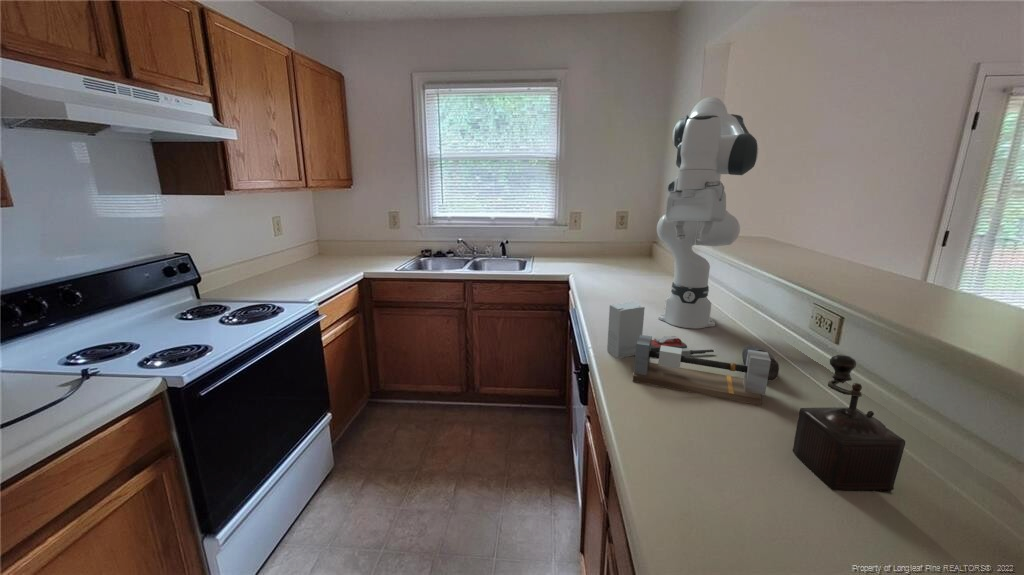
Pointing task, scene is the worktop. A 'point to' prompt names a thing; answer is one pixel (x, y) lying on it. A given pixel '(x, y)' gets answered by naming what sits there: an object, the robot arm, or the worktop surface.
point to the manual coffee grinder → (847, 441)
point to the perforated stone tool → (773, 365)
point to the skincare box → (624, 328)
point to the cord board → (705, 374)
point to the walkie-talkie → (674, 345)
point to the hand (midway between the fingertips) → (690, 240)
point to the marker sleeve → (670, 357)
